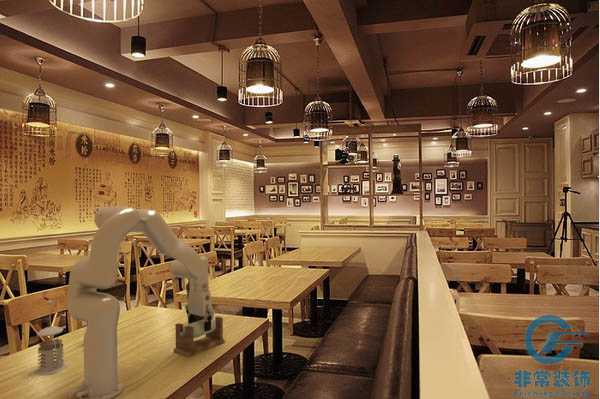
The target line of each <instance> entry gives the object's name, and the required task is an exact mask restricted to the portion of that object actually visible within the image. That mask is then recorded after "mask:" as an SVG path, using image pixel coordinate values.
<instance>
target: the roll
mask: <svg viewBox="0 0 600 399" xmlns="http://www.w3.org/2000/svg"><path fill="white" fill-rule="evenodd" d="M204 322H205V319H203V320H200V321H197V322H194V323H191V324H188V323H187V324H186V325H183V332H181V333H180V334H179V335H180V337H183V336H185V327H187V326H191V327H193V340H194V339H196V338H199V337H202V336H204V335H205V336H206V334H208V333H210V332H213V331H215V329H216V323H215V318H213V319H212V320H211V330H209V331H206V332H205V331H204Z"/></svg>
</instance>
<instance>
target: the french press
mask: <svg viewBox="0 0 600 399" xmlns="http://www.w3.org/2000/svg"><path fill="white" fill-rule="evenodd" d="M46 304H47V305H51V304H54V302H53V300H51V299H50V300H48V301H46ZM51 314H52V312H51V310H49V326H46V327H44V328H43V329H40V330H39V331H38V332H37V333H36V334H37V336H39V337H49V338H50V339H46V340H45V341H44V340H43V341H42V342H40V343H39V344H38V348H37V354H38V355H37V356H38V359H37V360H38V367H37V368H36V370H35V372H34V373H35V375H37V376H38V375H39V376H47V375H53V374H57V373H60V372H62V371H64V370H65V369H66V368H67V367H68V366H67V365H66V364H65V362H64V344H63V343H62V342H63V340H62V339H60V338H59V336H56V338H55V339H54V338H53V337H52V336H55V335H59V334H61V333H62V332H63V330H64V328H62V327H61V326H55V325H54V326H53V325H52V322H51V320H52V319H51V316H52V315H51ZM51 325H52V326H51Z"/></svg>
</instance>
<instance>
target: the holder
mask: <svg viewBox="0 0 600 399" xmlns="http://www.w3.org/2000/svg"><path fill="white" fill-rule="evenodd" d="M206 317H207V318H208V316H206ZM214 317H215V318H214V320H215V323H216V329H215V331H213V332H210V333H208V334H205V336H204V337H201V338H199V339H196V340H194V339H193V327H191V326H187V327H185V336H183V337H180V335H179V334H180V333H181V332H183V329H184V324H183V323H180V322H179V323H175V347H174V348H173V353H175V354H178V355H181V356H183V357H186V358H190V357H193V356H195V355H198V354H200V353H203V352H206V351H208V350H210V349H212V348H215V347H217V346H221V345H222V344H225V342H226V339H224V331H223V330H224V328H223V325H224V324H223V323H224V322H223V321H224V320H223V318H224V317H223V316H214Z"/></svg>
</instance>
